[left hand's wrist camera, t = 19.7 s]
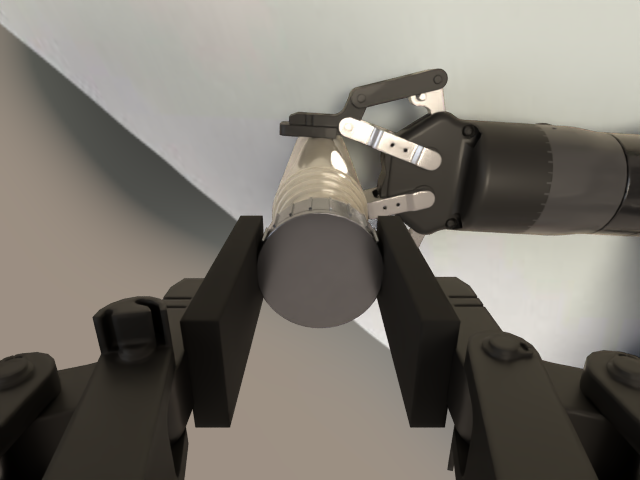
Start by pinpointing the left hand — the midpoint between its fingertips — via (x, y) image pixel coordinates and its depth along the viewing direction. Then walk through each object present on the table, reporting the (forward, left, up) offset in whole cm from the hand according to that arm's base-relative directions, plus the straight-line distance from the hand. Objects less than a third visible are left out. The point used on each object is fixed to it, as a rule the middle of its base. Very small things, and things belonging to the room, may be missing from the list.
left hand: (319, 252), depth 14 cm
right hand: (-2, -2, -15) cm, 15 cm away
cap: (0, 0, +1) cm, 1 cm away
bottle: (0, 0, -21) cm, 21 cm away
